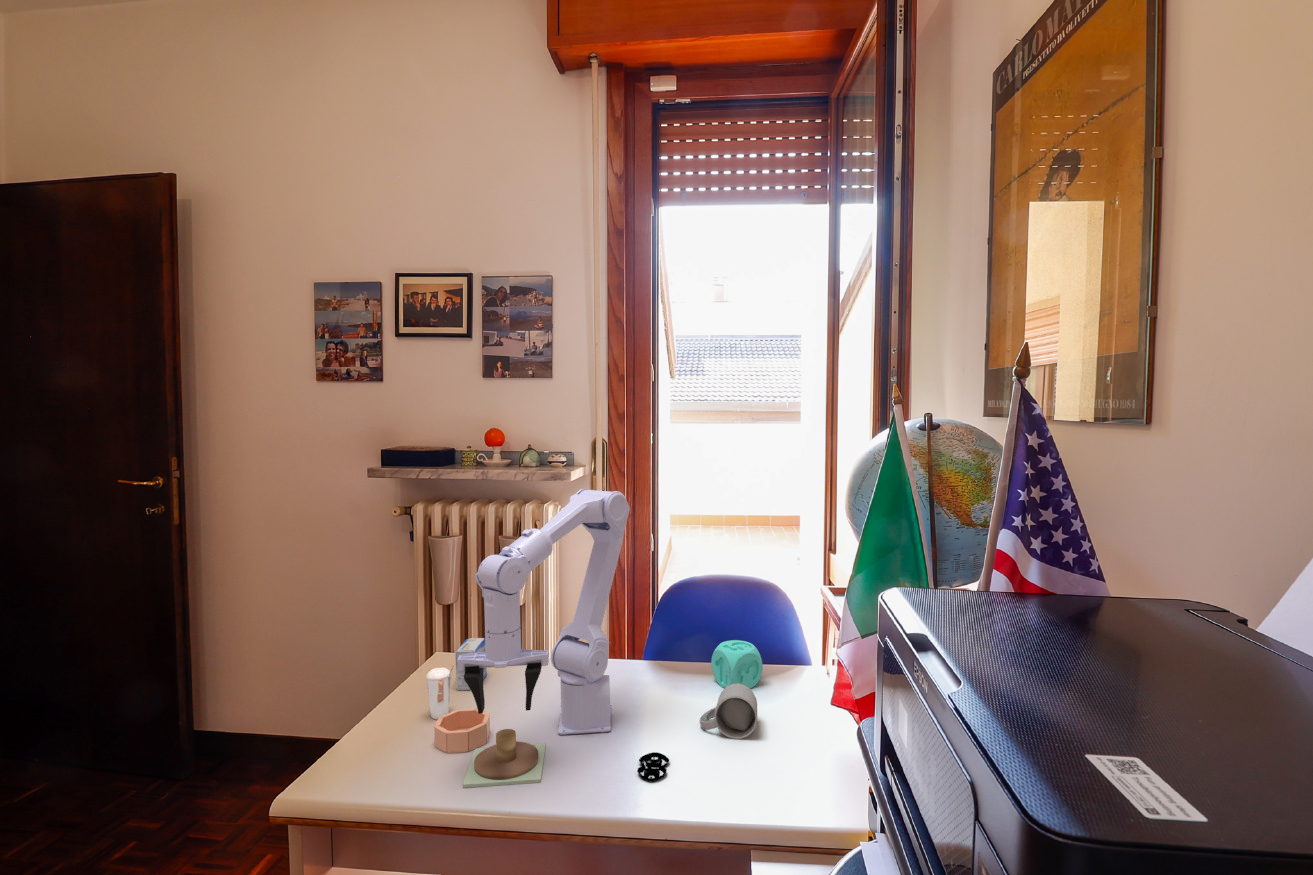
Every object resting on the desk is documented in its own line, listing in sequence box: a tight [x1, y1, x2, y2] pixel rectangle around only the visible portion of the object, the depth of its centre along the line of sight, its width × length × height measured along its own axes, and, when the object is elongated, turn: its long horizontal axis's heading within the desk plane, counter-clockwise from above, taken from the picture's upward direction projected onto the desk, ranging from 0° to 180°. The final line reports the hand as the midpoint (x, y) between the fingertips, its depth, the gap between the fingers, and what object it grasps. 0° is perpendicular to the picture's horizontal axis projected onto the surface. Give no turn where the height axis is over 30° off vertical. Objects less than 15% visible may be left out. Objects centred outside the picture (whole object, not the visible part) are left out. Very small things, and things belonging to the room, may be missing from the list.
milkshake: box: [425, 665, 454, 720], centre depth 125 cm, size 4×5×10 cm
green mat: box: [462, 743, 547, 789], centre depth 106 cm, size 12×11×1 cm
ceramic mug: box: [699, 684, 758, 740], centre depth 118 cm, size 11×8×8 cm
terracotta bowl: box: [433, 707, 491, 754], centre depth 115 cm, size 9×9×4 cm
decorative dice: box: [710, 639, 764, 690], centre depth 138 cm, size 8×8×8 cm
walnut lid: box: [474, 728, 539, 780], centre depth 107 cm, size 10×10×5 cm
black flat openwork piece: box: [636, 751, 670, 783], centre depth 105 cm, size 5×8×1 cm, turn 174°
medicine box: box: [454, 637, 488, 691], centre depth 140 cm, size 8×4×9 cm, turn 179°
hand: (505, 709), depth 106 cm, fingers open, 7 cm apart
